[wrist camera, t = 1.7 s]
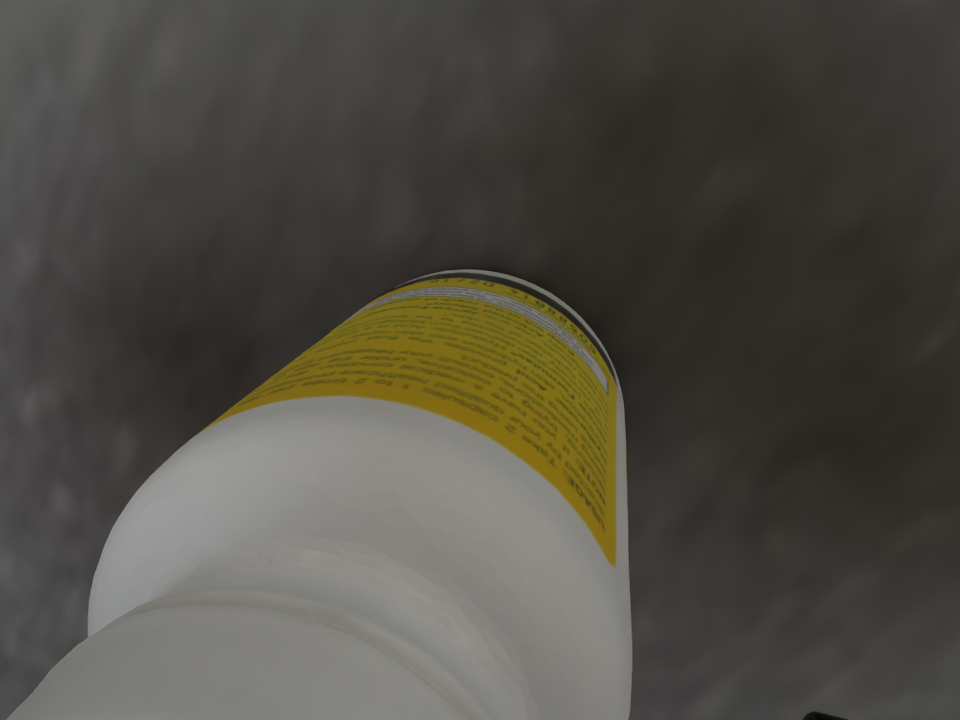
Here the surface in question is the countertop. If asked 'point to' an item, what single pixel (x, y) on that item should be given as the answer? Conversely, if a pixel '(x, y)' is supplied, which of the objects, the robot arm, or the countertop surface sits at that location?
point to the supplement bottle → (381, 532)
